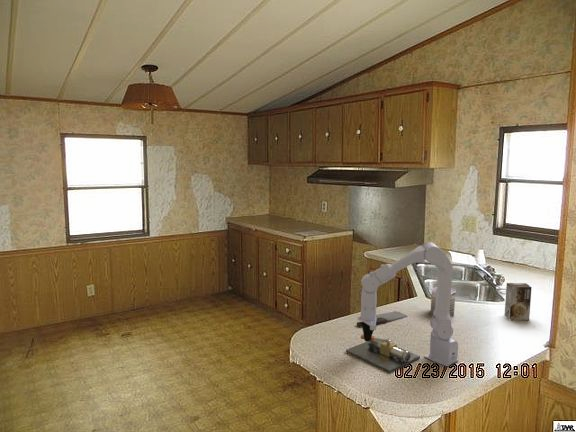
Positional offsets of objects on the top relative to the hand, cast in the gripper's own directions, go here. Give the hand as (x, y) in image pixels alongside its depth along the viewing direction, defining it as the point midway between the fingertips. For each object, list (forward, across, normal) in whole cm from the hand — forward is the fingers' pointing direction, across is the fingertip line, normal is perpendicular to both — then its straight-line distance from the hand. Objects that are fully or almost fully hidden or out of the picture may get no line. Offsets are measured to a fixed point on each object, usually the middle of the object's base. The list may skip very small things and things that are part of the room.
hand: (367, 340), depth 166 cm
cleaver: (+6, -36, +16) cm, 39 cm away
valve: (+6, +1, +6) cm, 8 cm away
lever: (0, 0, +3) cm, 3 cm away
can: (+6, -42, +48) cm, 64 cm away
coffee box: (+6, -35, +81) cm, 88 cm away
